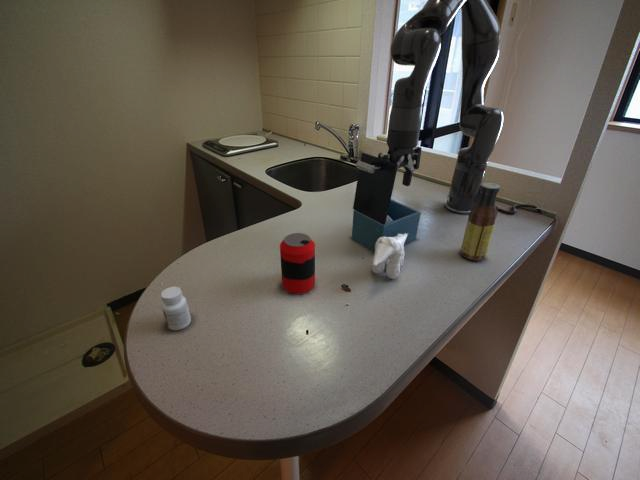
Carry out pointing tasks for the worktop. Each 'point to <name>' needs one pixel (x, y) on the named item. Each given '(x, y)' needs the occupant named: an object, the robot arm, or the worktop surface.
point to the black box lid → (374, 187)
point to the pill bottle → (175, 308)
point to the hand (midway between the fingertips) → (395, 188)
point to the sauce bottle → (480, 223)
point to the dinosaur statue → (389, 255)
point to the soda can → (297, 263)
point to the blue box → (386, 225)
